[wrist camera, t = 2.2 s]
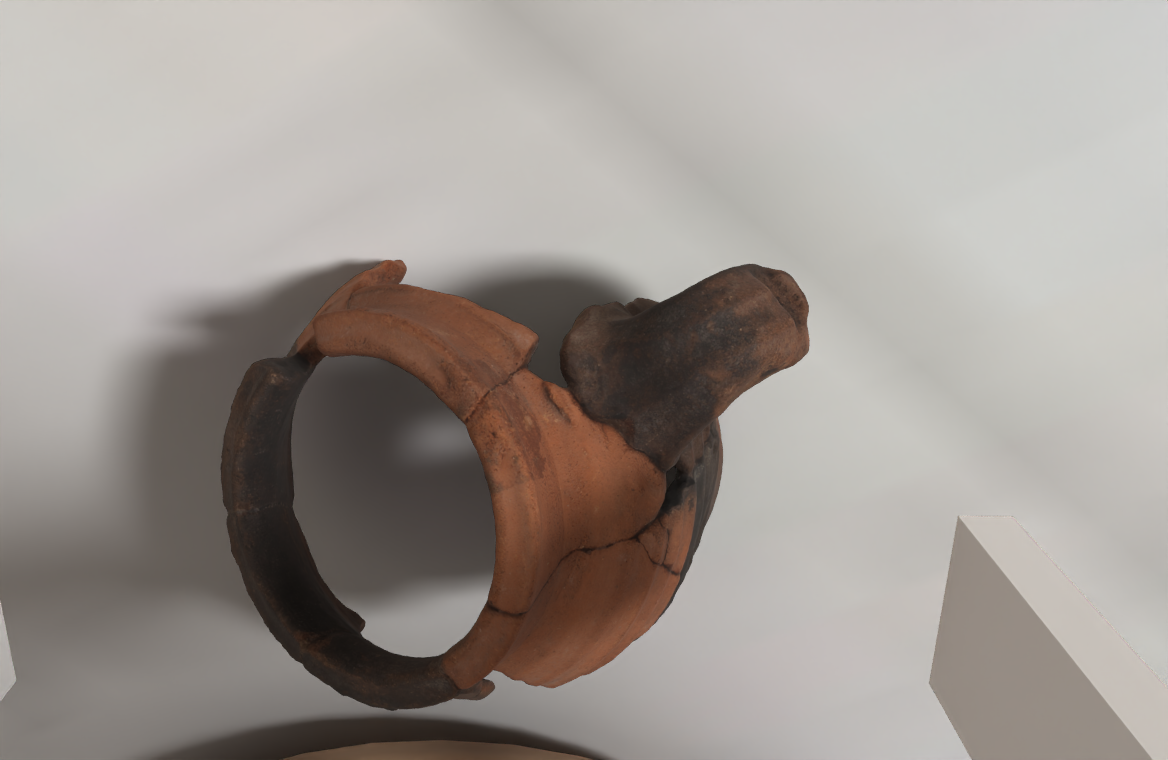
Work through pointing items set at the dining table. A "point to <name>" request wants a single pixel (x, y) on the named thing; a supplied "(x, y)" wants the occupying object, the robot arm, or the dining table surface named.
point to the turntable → (435, 752)
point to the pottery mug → (519, 469)
